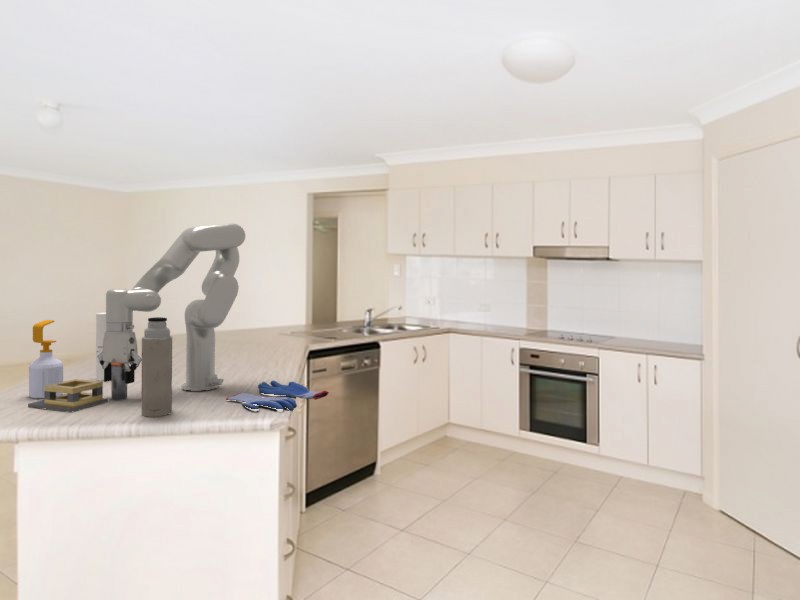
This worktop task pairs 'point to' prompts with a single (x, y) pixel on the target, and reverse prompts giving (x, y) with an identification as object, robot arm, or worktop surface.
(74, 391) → the tan frame fixture
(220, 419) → the worktop surface
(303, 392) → the pair of gloves
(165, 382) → the thermos bottle
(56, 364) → the soap bottle
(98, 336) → the cylindrical container
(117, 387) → the tube
